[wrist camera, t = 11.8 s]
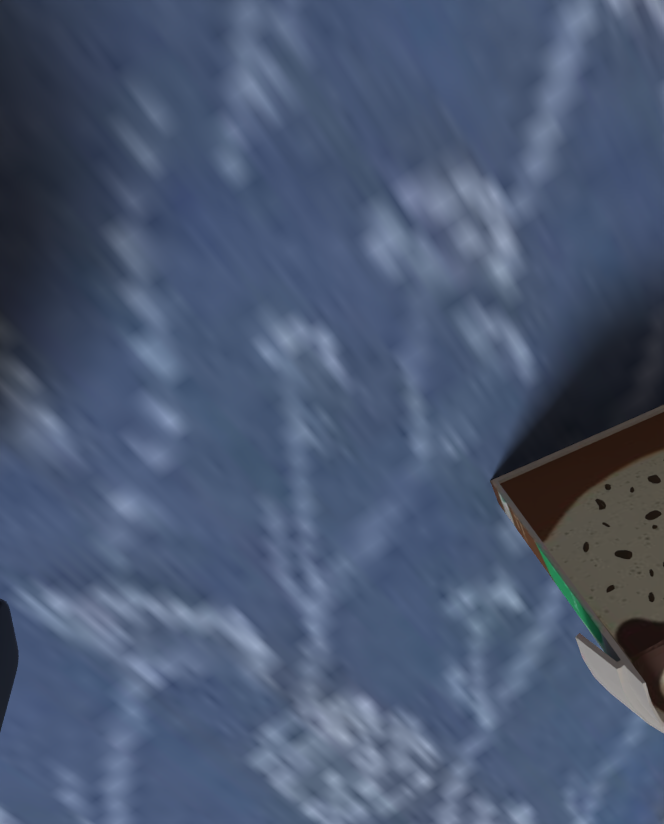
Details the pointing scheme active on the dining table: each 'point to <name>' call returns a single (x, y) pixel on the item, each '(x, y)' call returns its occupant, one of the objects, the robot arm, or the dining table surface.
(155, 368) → the dining table surface
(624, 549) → the food container
